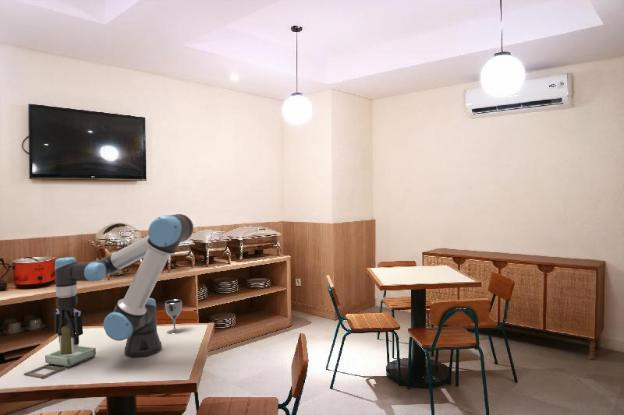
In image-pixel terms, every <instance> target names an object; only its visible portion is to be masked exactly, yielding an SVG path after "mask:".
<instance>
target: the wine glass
mask: <svg viewBox="0 0 624 415" xmlns="http://www.w3.org/2000/svg"><path fill="white" fill-rule="evenodd" d="M164 308H165V311H166V315H168V316H169V317H170V318H171V320H172V324H173V329H169V330H167V332H166V333H167V334H169V335H172V334H173V335H174V334H179V333H182V331H183V330H182V329H180V328H176V321H177V318H178V317H179V316H180V314H181V312H182V308H183V301H182V300H181V299H170V300H166V301H165V302H164Z"/></svg>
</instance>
